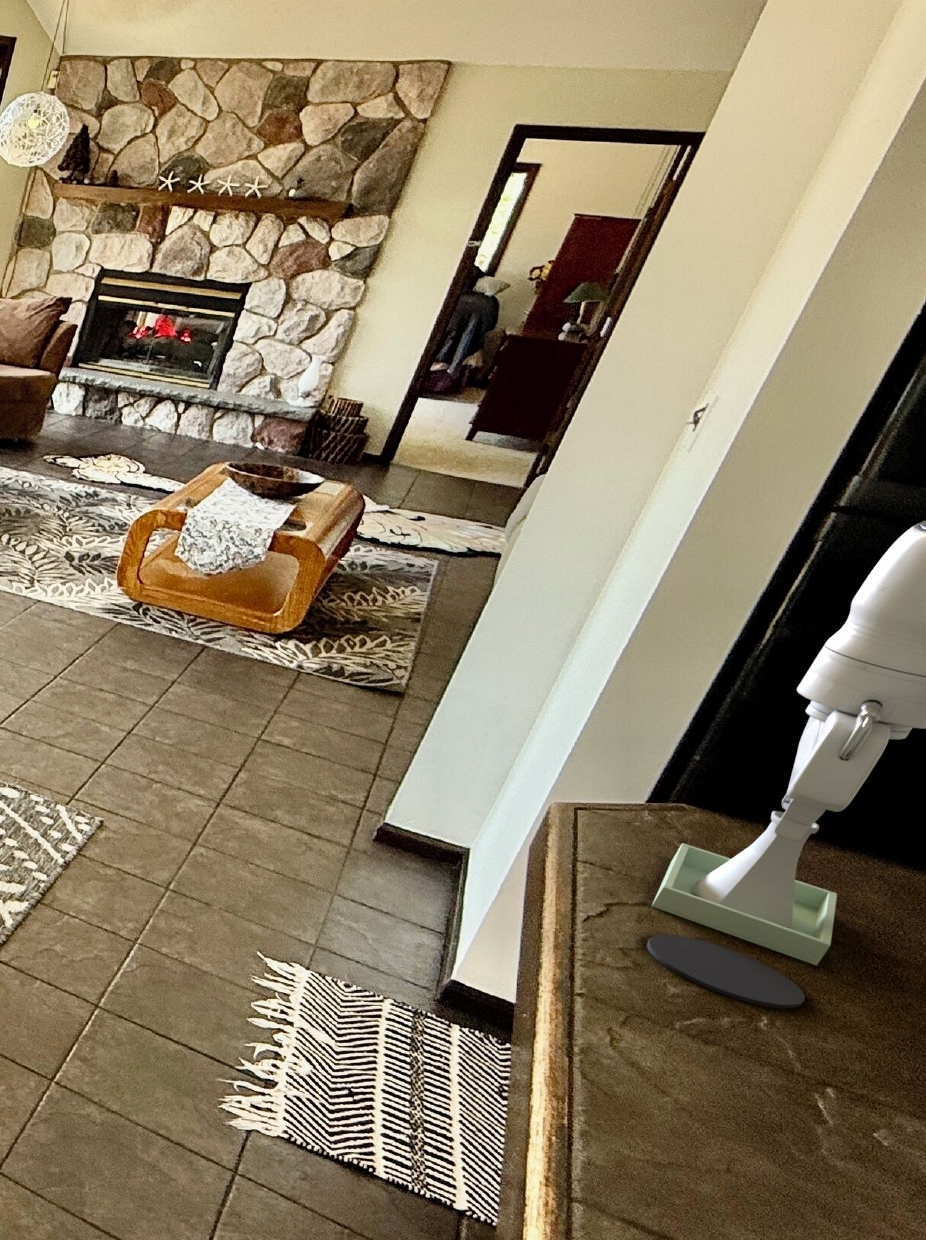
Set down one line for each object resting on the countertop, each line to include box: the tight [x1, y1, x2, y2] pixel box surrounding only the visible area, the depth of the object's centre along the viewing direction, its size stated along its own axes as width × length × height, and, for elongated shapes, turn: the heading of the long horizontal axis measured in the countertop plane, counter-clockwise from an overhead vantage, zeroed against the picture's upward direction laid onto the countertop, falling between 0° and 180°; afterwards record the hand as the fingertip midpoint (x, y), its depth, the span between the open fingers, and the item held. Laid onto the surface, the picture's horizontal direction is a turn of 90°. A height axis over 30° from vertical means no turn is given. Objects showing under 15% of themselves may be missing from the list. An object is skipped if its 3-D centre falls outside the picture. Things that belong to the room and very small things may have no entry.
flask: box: [693, 810, 820, 927], centre depth 110 cm, size 7×7×10 cm
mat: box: [646, 934, 806, 1010], centre depth 102 cm, size 10×10×1 cm
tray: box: [651, 843, 838, 966], centre depth 112 cm, size 15×11×2 cm
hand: (789, 822), depth 108 cm, fingers open, 8 cm apart
